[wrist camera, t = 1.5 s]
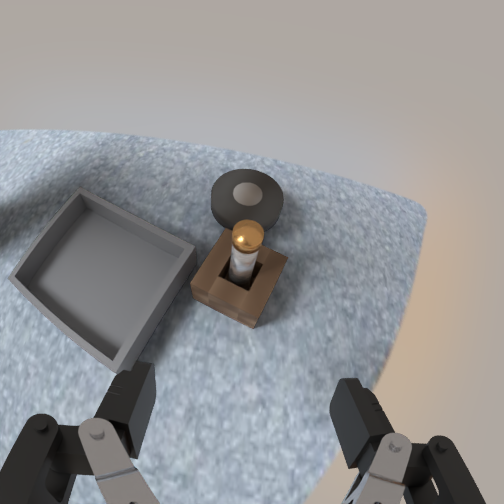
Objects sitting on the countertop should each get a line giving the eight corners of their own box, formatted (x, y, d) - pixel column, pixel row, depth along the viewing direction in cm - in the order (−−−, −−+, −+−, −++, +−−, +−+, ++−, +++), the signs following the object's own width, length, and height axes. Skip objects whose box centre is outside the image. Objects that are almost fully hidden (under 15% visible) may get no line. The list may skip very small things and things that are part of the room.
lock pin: (222, 288, 30) (226, 237, 22) (233, 270, 31) (241, 215, 23) (243, 298, 30) (255, 251, 21) (253, 280, 31) (269, 227, 22)
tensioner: (162, 281, 30) (154, 261, 26) (230, 184, 38) (232, 159, 34) (253, 329, 29) (259, 315, 25) (306, 219, 37) (316, 195, 33)
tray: (22, 290, 27) (7, 278, 24) (88, 204, 34) (79, 186, 31) (126, 377, 25) (115, 373, 22) (197, 262, 32) (195, 246, 29)
